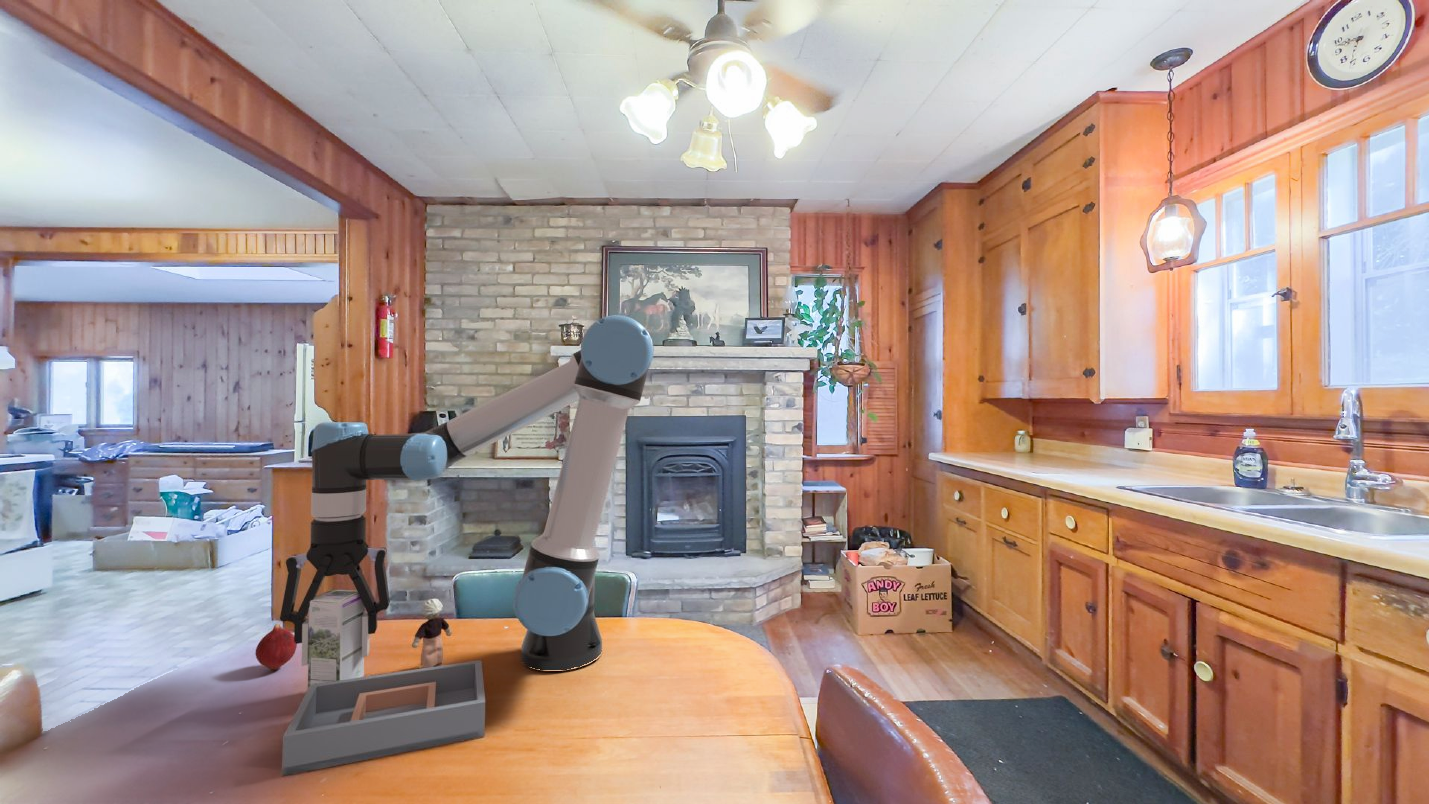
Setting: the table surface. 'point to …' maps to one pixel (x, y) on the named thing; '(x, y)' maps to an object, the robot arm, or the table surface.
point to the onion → (276, 648)
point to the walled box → (384, 716)
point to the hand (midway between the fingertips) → (336, 657)
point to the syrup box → (335, 637)
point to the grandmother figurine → (431, 635)
